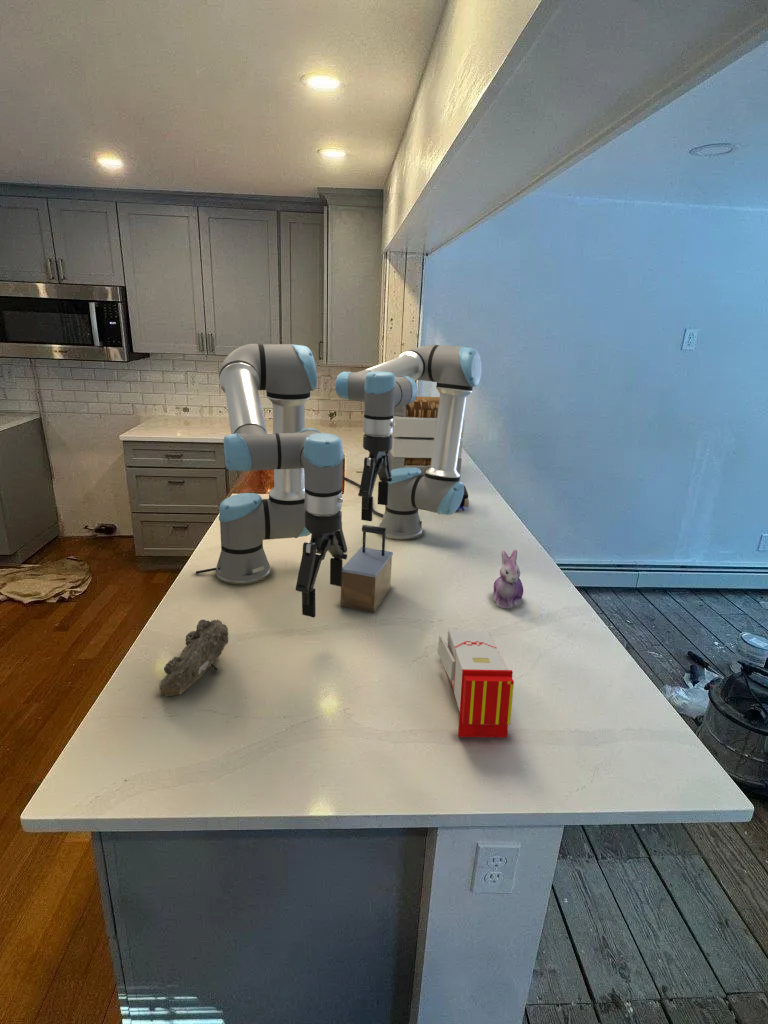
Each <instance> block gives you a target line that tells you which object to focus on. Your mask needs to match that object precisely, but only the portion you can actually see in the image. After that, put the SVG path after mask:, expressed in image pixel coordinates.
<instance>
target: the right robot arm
mask: <svg viewBox="0 0 768 1024" xmlns="http://www.w3.org/2000/svg"><path fill="white" fill-rule="evenodd" d="M482 370H483V368H482V359H481V355H480V354H479V352H478V350H477V349H475V348H473V347H467V346H459V345H458V346H455V345H441V344H440V345H439V344H426V345H421V346H418V347H415V348H411V349H408V350H405V351H403V352H402V353H400V354H399V356H397V357H396V358H392V359H390V360H388V361H385V362H382V363H379V364H375V365H374V366H371V367H368V368H365V369H362V370H360V371H357V372H354V371H341V372H339V374H338V375H337V377H336V379H335V384H334V386H335V393H336V395H337V396H338V397H339V398H340V399H342V400H348V401H354V402H361V403H363V402H364V403H363V404H364V405H363V407H364V408H363V410H364V413H363V428H362V429H363V430H362V432H363V433H364V434H363V435H362V436H363V437H362V448H363V449H364V450H365V451H368V453H369V454H368V456H366V457H365V456H364V459H363V469H362V474H361V480H360V484H359V483H358V482H357V481H354V480H352V479H350V478H348V477H346V476H343V475H342V480H345V481H347V482H350V483H351V484H353V485H354V486H356V487H358V488H359V490H358V494H357V495H358V497H361V515H360V517H361V518H360V520H361V521H365V522H373V514H374V515H377V516H379V517H382V519H381V522H379V525H378V527H382V528H387V533H386V536H385V538H387V539H389V540H395V541H410V540H415V539H418V538H420V537H421V536H422V535H423V525H422V524H423V522H422V520H421V518H420V515H419V510H421V511H426V512H429V513H435V514H438V515H445V516H451V515H453V514H454V513H456V512H457V511H458V509H459V508H458V507H459V506H460V503H461V501H462V498H463V495H464V486H465V484H464V483H463V482H462V481H461V474H460V475H459V474H458V472H457V471H456V468H457V461H458V454H459V447H460V440H462V438H461V433H462V426H463V419H464V417H465V411H466V404H467V397H468V396H470V394H472V393H473V389H474V388H475V387H477V386H478V385H479V384H480V382H481V378H482ZM416 381H425V382H432V383H436V386H435V389H436V390H437V391H438V393H439V397H440V398H439V406H438V414H437V421H436V429H435V436H434V444H433V451H432V459H431V465H430V466H429V468H427V469H426V470H424V474H422V470H421V468H419V467H414V466H411V467H409V466H406V467H405V466H404V468H397V469H393V470H391V467H390V459H389V451H390V450H391V449H392V438H393V437H392V435H390V434H392V433H393V426H395V423H393V414H394V408H395V407H399V406H405V405H407V404H409V403H411V402H413V401H414V400H415V398H416V397H417V396H418V391H419V389H418V385H417V382H416ZM464 420H465V419H464ZM377 476H378V478H379V481H377V483H378V485H377V505H380V506H385V507H384V508H385V509H384V513H381V512H378V511H376V510H375V509H374V496H373V492H374V489H375V484H376V480H377ZM459 479H460V481H459ZM456 510H457V511H456Z"/></svg>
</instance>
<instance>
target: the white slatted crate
mask: <svg viewBox="0 0 768 1024" xmlns="http://www.w3.org/2000/svg"><path fill="white" fill-rule="evenodd" d="M439 398H440V396H418V395H417V397H416V398H415V400H414V401H413V402H411V403H409V404H407V405H405V406H399V407H395V408H394V414H393V423H395V426H393V433H392V434H390V435H392V437H393V438H392V449H391V450H390V451H389V459H390V467H391V470H393V469H397V468H405V466H406V467H409V466H411V467H417V466H418V467H430V466H431V459H432V451H433V444H434V436H435V429H436V421H437V414H438V406H439ZM464 429H465V419H463V426H462V433H461V440H460V447H459V454H458V461H457V468H456V471H457V472H458V474H459V475H460V476H461V472H462V461H463V460H462V453H463V442H464V441H463V440H462V439H463V438H464V431H465V430H464ZM459 481H460V482H461V478H460V479H459Z"/></svg>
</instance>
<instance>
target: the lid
mask: <svg viewBox="0 0 768 1024" xmlns="http://www.w3.org/2000/svg"><path fill="white" fill-rule="evenodd" d="M361 532H362V545H361V546H360V548H358V550H357V551H356V552H355V553H354V554H353V555H352V556H351V558H350V559H349V560H348V561H347V562H346V563H345V564H344V565H343V566H342V572H347V573H352V574H358V575H363V576H369V577H374V578H375V577H376V576H377V575H378V573H379V572H380V571H381V569H382V568H383V567H384V565H385V564H386V563H387V561H388V560H389V559H390V558H391V556H392V557H393V555H394V552H393V551H389V550H386V537H385V536H386V533H387V528H382V527H379V526H374V525H369V524H362V526H361ZM367 533H369V534H375V535H379V536H380V535H381V536H382V537H381V549H377V548H371V547H366V546H367V545H366V543H367V542H366V541H367Z"/></svg>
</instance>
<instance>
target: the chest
mask: <svg viewBox="0 0 768 1024" xmlns="http://www.w3.org/2000/svg"><path fill="white" fill-rule="evenodd" d="M392 562H393V555H392V556H391V558H390V559H389V560H388V561H387V563H386V564H385V565H384V567H383V568H382V569H381V571H380V572H379V573H378V575H377V576H376V577H375V578H374V577H369V576H363V575H358V574H352V573H347V572H342V586H341V587H340V607H342V608H343V607H344V608H348V609H354V610H359V611H364V612H370V613H375V612H376V610H377V609H378V607H379V606H380V604H381V603H382V601H383V599H385V597H386V595H387V594H388V593H389V591H390V589H391V584H392V583H391V582H392V581H391V580H392Z"/></svg>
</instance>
